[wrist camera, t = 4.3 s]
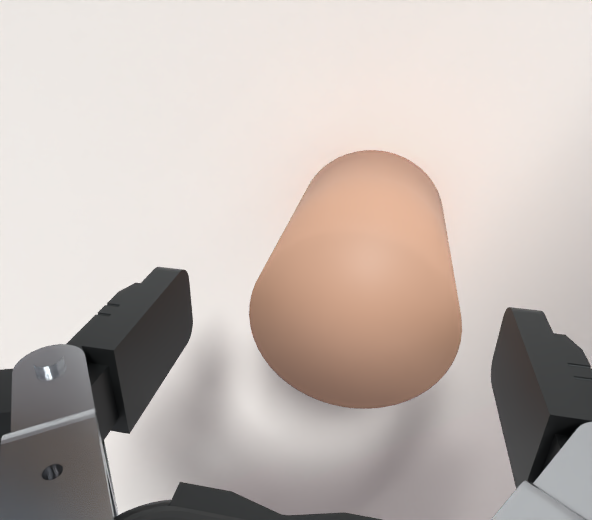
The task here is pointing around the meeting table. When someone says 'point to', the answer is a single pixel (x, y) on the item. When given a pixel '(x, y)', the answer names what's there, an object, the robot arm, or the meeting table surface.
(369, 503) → the meeting table surface
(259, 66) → the meeting table surface
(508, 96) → the meeting table surface
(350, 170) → the peach capsule
